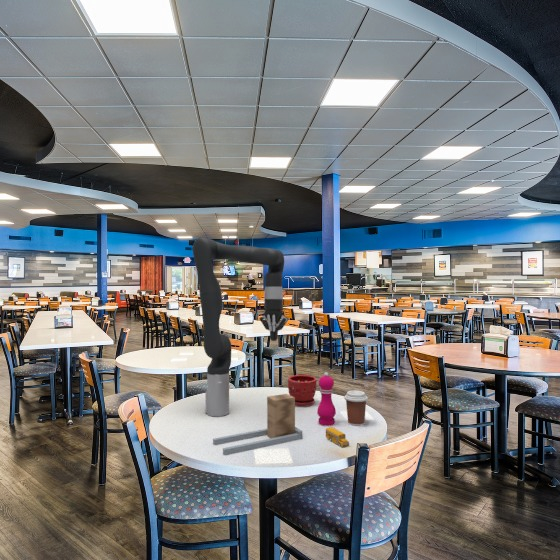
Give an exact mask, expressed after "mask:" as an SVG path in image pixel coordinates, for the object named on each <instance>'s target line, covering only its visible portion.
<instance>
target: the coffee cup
mask: <svg viewBox="0 0 560 560" xmlns="http://www.w3.org/2000/svg"><path fill="white" fill-rule="evenodd" d="M343 398H344V400H345V405H346V413H347V414H346V416H347V424H348V423H349V424H348V425H350V424H351V425H350V426H353V425H357V426H356V427H361V426H360V425H362V426H364V425H365V424H364V423H366V421H365V419H366V407H367V406H366V405H367V401H368V400H369V397H368V396H367V395H366V393H365V392H364V391H361V390H355V389H354V390H349V391H347V392H346V395H344V397H343Z"/></svg>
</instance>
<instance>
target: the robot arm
mask: <svg viewBox="0 0 560 560" xmlns="http://www.w3.org/2000/svg"><path fill="white" fill-rule="evenodd" d="M192 254H193V255H192V256H193V259H194V264H195V267H196V272H197V273H196V274H197V282H198V289H199V290H198V291H199V301H200V308H201V316H202V325H203V348H204V353H205V354H206V356H207V357H209V358H210V359H211V360H210V363H209V364H208V365H207V368H206V370H207V371H206V372H207V373H206V376H207V377H206V379H207V387H206V388H207V389H206V390H205V414H206V413H207V414H206V415H207V416H210V417H223V416H227V415H229V414H230V367H231V364H232V342H231V340H230V338H229V337H228V336H227V335H225V334H221V331H220V319H221V316H222V315H221V314H222V310H223V295H222V289H221V285H220V283H219V281H218V279H217V277H216V274H215V272H214V269H213V263H212V262H213V260H230V261H235V262H240V263H245V264H254V265H255V264H258V265H263V266H268V268H267V272H266V274H265V276H264V292H263V293H264V297H263V298H264V300H263V302H264V313H263V314H264V315H262V316H261V317H259V321H260V322H261V324H262V325H263V327H264V329H265V330H267V331H269V338H270V341H272V342H276V341H278V339H279V336H278V335H279V334H278V333H279V331H280V330H283V328H284V327H285V326H286V324H287V322H288V321H289V318H288V317H285V315H284V312H283V309H284V298H283V297H284V294H283V293H284V292H283V272H284V267H285V255H284V254H283V252H282V251H281V250H280V249H276V248H271V247H270V248H269V247H258V246H252V245H251V246H250V245H239V244H238V245H232V244H231V245H230V244H226V243H225V244H224V243H221V242H219V241H216V240H214V239H211V238H206V237H198V238H197V239H195V240H194V242H193V245H192Z"/></svg>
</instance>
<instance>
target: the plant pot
mask: <svg viewBox="0 0 560 560" xmlns="http://www.w3.org/2000/svg"><path fill="white" fill-rule="evenodd" d="M287 388H288V393H289V394H288V395H290V396H293V397H295V407H297V406H298V407H308V406H309V407H310V406H312V405H313V404H314V403H315V401H316V400H315V398H314V397H315V395H316V392H317V378H316V377H315V376H313V375H308V374H297V375H291V376H289V377H288V379H287Z"/></svg>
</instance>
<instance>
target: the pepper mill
mask: <svg viewBox="0 0 560 560" xmlns="http://www.w3.org/2000/svg"><path fill="white" fill-rule="evenodd" d="M334 384H335V381H334V379H333V378H332V377H331V376H329V372H326V371H325V372H324V373H323V376H321V377H320V378H319V379H318V386H319V390H320V391H319V393H320V394H321V398H320V399H321V400H320V402H319V404H318V406H317V415H318V425H320V424H321V425H320V426H325V427H330V426H333V424H334V423H335V418H334V417H335V416H336V413H337V411H336V407H335V405H334V403H333V399H332V395H333V392H334V391H333V390H334V389H333V387H334V386H335V385H334ZM329 425H330V426H329ZM334 425H335V424H334Z"/></svg>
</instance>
